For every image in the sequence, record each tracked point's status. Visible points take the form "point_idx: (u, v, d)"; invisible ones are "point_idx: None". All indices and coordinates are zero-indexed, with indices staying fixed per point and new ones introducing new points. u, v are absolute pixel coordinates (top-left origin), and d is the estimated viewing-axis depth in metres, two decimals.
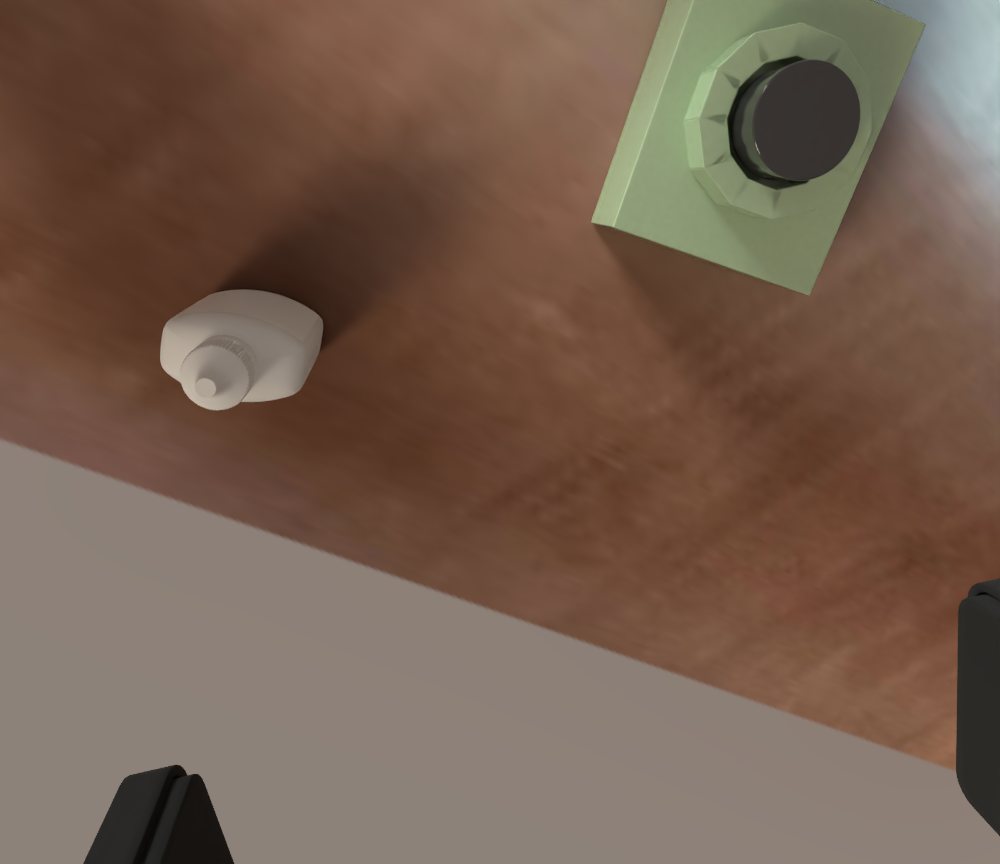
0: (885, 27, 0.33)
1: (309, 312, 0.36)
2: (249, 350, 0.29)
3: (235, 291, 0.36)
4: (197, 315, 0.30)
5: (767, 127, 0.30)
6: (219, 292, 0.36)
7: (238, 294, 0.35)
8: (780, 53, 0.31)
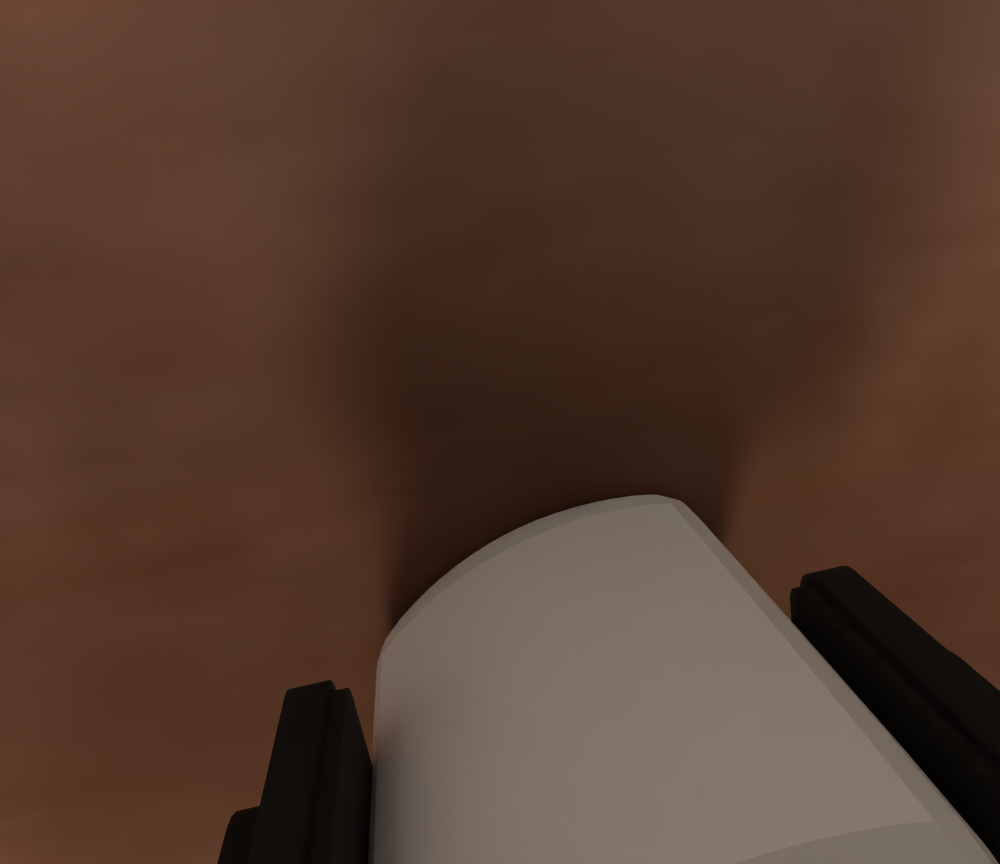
0: None
1: (654, 520, 0.11)
2: None
3: (435, 611, 0.11)
4: None
5: None
6: (399, 637, 0.12)
7: (457, 635, 0.10)
8: None
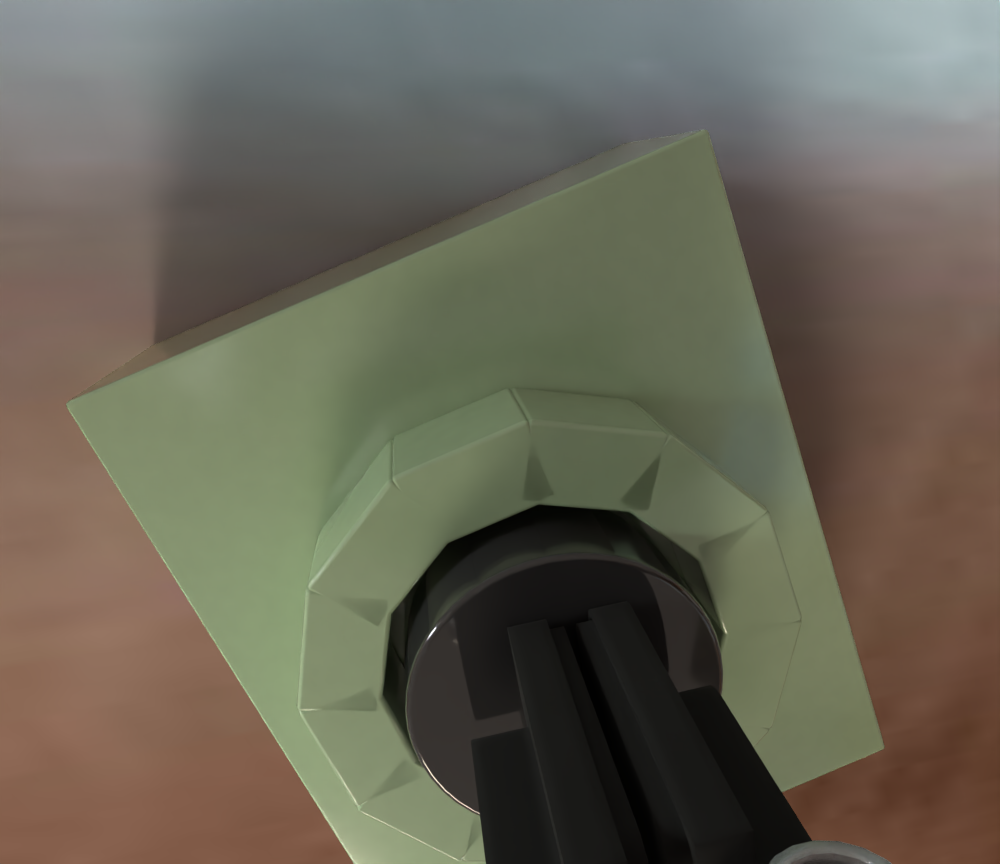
0: (616, 223, 0.11)
1: None
2: None
3: None
4: None
5: None
6: None
7: None
8: (405, 573, 0.11)
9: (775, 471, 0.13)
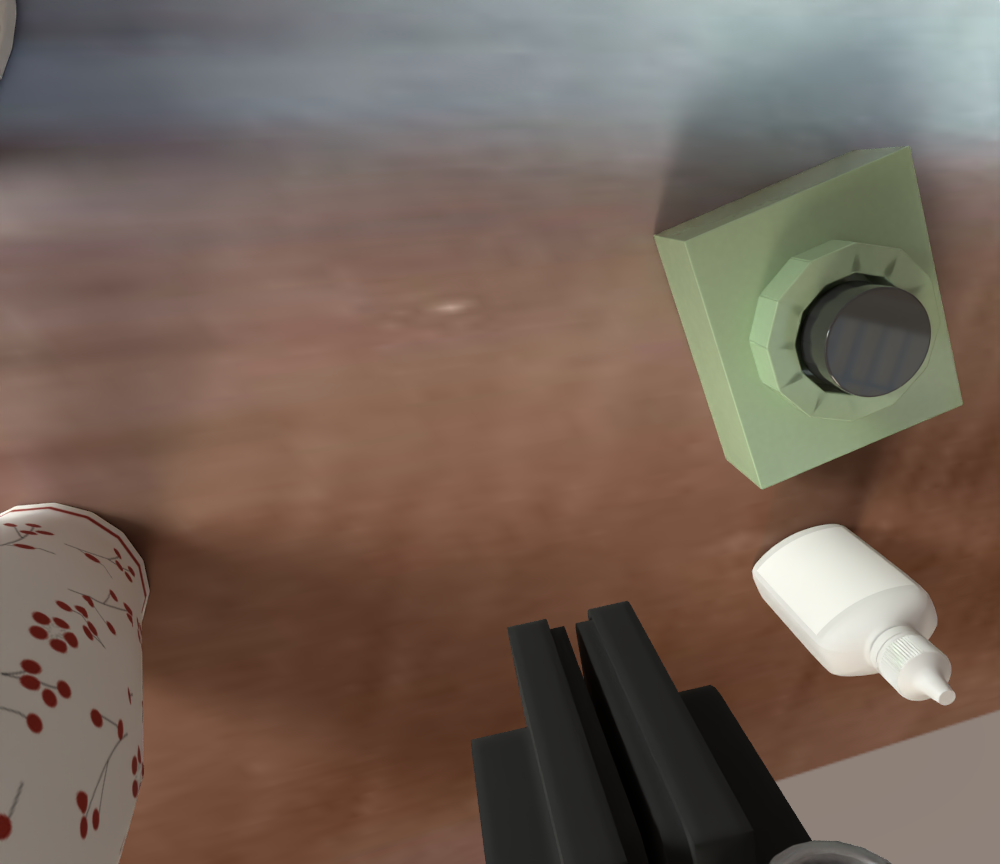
0: (876, 179, 0.32)
1: (839, 531, 0.40)
2: (914, 631, 0.33)
3: (777, 557, 0.41)
4: (839, 625, 0.35)
5: (848, 374, 0.31)
6: (763, 565, 0.41)
7: (791, 562, 0.40)
8: (810, 296, 0.31)
9: None
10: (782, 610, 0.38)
